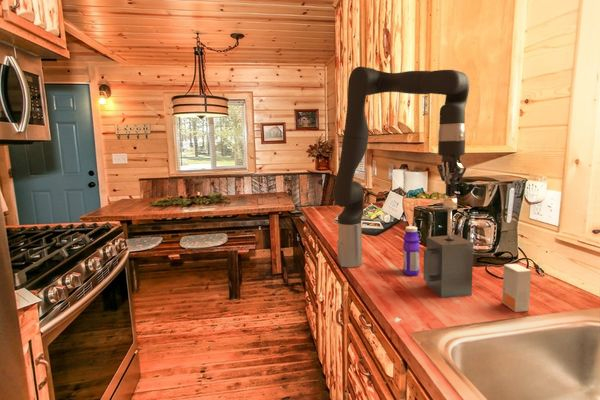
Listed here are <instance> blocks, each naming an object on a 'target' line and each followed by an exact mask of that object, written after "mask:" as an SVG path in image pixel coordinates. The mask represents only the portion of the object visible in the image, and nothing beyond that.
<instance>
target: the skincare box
mask: <svg viewBox="0 0 600 400" xmlns="http://www.w3.org/2000/svg"><path fill="white" fill-rule="evenodd" d="M502 276H503V277H502V278H503V279H502V297H501V303H502V304H503V305H505V306H507V308H509V309H510V310H512V311H514V312H515V313H521V312H529V311H530V298H531V297H530V296H531V282H532V281H531V279H532V270H531V269H529V268H526V267H525V266H523V265H521V264H518V263H506V264H503V274H502Z"/></svg>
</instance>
